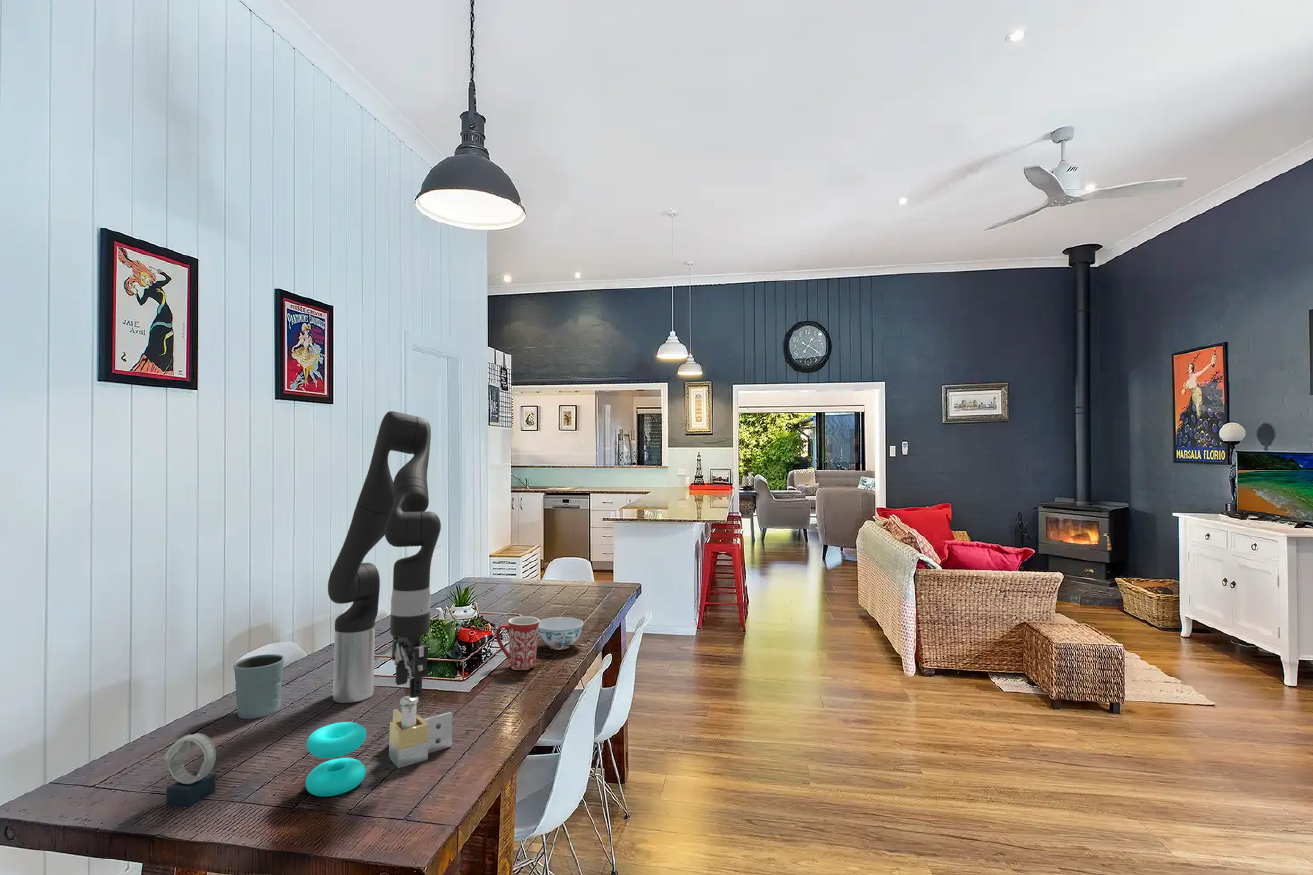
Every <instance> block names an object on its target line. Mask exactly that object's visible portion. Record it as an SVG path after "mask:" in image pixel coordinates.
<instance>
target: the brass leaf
mask: <svg viewBox="0 0 1313 875" xmlns="http://www.w3.org/2000/svg"><path fill="white" fill-rule="evenodd" d="M401 718H402V711H399V709H397V708H395V709H392V721H390V722H389V735H388V736H389V737H388V741H389V740H390V741H391V742H392V743H393V745H394V746H395V747H396V748H397V749H398V750H402V749H405V748H409V747H412V746H416V745H419V744H423V743H426V742H428V727H429V724H428V723H426V722H425V721H424V720H423V719H424V718H422V716H420V715H419V714H416V726H414V727H411V728H407V729H403V730H402V729H401Z"/></svg>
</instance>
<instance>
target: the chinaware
mask: <svg viewBox="0 0 1313 875" xmlns="http://www.w3.org/2000/svg"><path fill="white" fill-rule="evenodd" d="M539 620H540V621H539V626H538V638H540V641H542V642H543V644H545V645H546V646H548V645H549V646H566V645H570V646H571V645H572V644H574V643H575V642H576V641H577V640H578V639H579V637H580V635H581V633H582V631H583V627H584V621H583V620H581V619H579V618H576V617H570V616H569V617H565V616H557V617H548V618H543V619H539ZM549 646H548V647H549Z"/></svg>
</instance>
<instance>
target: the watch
mask: <svg viewBox="0 0 1313 875" xmlns="http://www.w3.org/2000/svg"><path fill="white" fill-rule="evenodd" d="M196 745H197V746H198V747H200V749H201V750H202V753H203V755H204V757H203V762H202V763H201V765H200V768H199V771H195V772H192V773H190V772H188V771H187V769H186V768H185V765H184V763H183V762H184V761H185V760H186V758H187V756H188V755H190V753H191V752H192V751H193V749H194V748H195V746H196ZM216 754H217V752H216V747H215V745H214V743H213V740H211V738H210V737H209V736H207V735H206V734H204V733H199V732H198V733H197V732H196V733H193V734H187V735H185V736H183V737H181V738H180V739H178V740H177V741H175V743H173V745H171V747H170V748H169V749H168V750H167V751H166V753H165V755H164V757H163V758H164V760H165V763H166V768H167V769H168V771H169V772H170V775H171V776H172V777H173V779H174V780H175V781H176V782H175V783H173V784H171V785H169V786H168V787H166V800H165V801H166V803H165V804H166V805H168V806H167V807H172V806H176V807H175V808H180V807H186V808H185V809H190V808H191V807H193V806H194V805H195V803H196V804H197V803H199V802H200V801H202V800H204V799H205V798H207V797H208V796H210V795H212V794H214V793H215V792H216V775H217V774H215V773H210V772H211V771H212V770H213V768H214V766H215V763H216V759H217V757H216ZM193 804H194V805H193ZM166 805H165V806H166ZM190 806H191V807H190Z"/></svg>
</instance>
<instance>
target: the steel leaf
mask: <svg viewBox="0 0 1313 875" xmlns="http://www.w3.org/2000/svg"><path fill="white" fill-rule="evenodd" d="M422 719H423V720H424V721H425V722H426V723H428V724H429V727H428V742H426V743H423V744H419V745H416V746H412V747H409V748H405V749H402V750H398V749H397V748H396V747H395V746H394V745H393V743H392V742H391V741H390V740H389V739H388V745H389V746H388V758H389V759H390V760H391V761H392V763H393V765H395V766H396V768H397V769H401V768H404V767H407V766H411V765H414V764H417V763H420V762H423V761H427V760H429V759H428V758H429V754H431V753H434V752H437V751H438V752H439V751H440V750H444V749H447V748H450V747H453V711H449V712H448V711H447V712H445V713H444V712H443V713H440V714H437V715H433V716H429V717H425V718H422Z"/></svg>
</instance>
